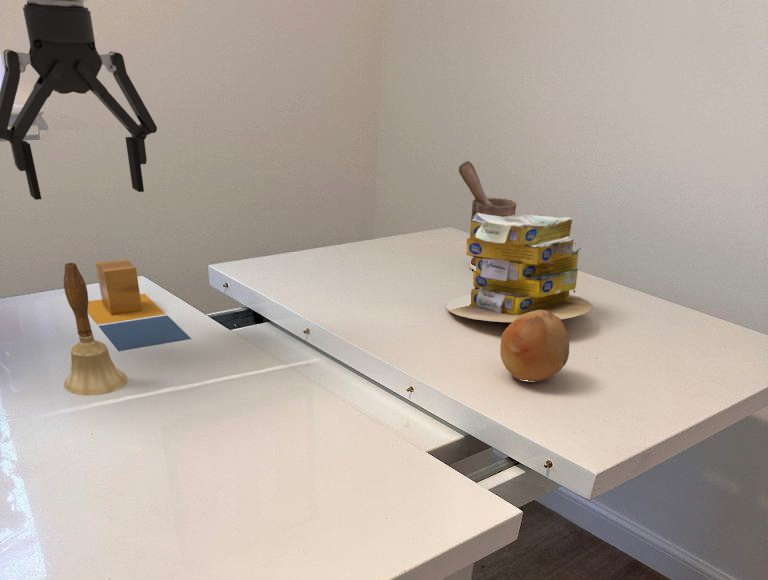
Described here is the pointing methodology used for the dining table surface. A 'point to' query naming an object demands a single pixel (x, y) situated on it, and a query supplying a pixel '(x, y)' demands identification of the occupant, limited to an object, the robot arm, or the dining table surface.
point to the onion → (535, 346)
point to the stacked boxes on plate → (522, 268)
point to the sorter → (136, 326)
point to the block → (119, 286)
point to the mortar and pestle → (484, 197)
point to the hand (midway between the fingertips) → (88, 193)
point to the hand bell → (88, 346)
